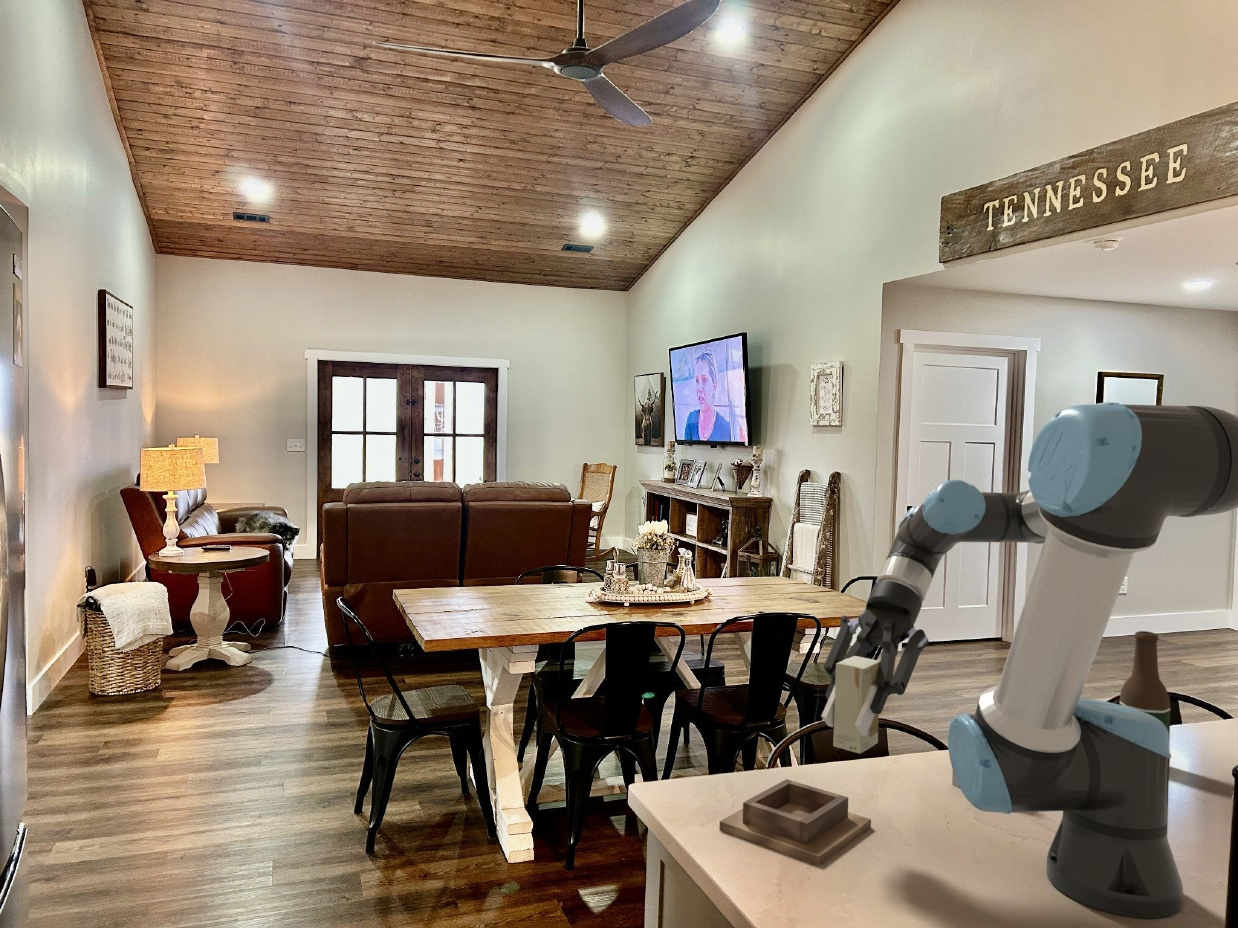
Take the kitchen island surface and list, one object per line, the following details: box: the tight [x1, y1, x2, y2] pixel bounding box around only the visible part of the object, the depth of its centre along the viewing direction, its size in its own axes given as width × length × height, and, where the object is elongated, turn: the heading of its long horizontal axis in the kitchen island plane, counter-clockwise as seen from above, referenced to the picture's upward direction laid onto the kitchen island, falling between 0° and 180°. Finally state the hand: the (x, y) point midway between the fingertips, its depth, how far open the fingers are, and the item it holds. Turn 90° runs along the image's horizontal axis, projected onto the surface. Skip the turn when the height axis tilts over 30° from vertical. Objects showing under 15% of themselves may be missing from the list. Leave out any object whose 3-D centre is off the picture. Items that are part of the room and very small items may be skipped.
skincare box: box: [832, 656, 881, 755], centre depth 123 cm, size 6×4×12 cm
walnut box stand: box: [719, 778, 872, 866], centre depth 126 cm, size 16×16×4 cm
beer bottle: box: [1119, 630, 1171, 741], centre depth 154 cm, size 8×8×24 cm
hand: (843, 725), depth 121 cm, fingers closed on skincare box, 4 cm apart
